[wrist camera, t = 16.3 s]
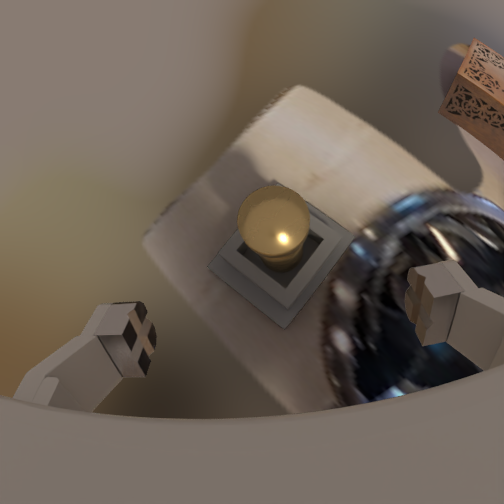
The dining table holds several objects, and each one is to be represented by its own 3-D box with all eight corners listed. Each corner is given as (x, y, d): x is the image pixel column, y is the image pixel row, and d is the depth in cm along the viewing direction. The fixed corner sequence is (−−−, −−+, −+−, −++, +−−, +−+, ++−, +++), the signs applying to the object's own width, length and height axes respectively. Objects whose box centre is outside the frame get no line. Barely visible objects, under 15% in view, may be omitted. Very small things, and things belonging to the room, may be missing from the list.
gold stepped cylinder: (285, 288, 38) (278, 268, 27) (244, 255, 39) (222, 224, 29) (319, 246, 38) (324, 212, 28) (277, 216, 40) (268, 173, 30)
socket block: (284, 329, 38) (283, 328, 34) (209, 269, 41) (200, 261, 37) (353, 239, 39) (359, 228, 35) (278, 186, 42) (276, 171, 38)
